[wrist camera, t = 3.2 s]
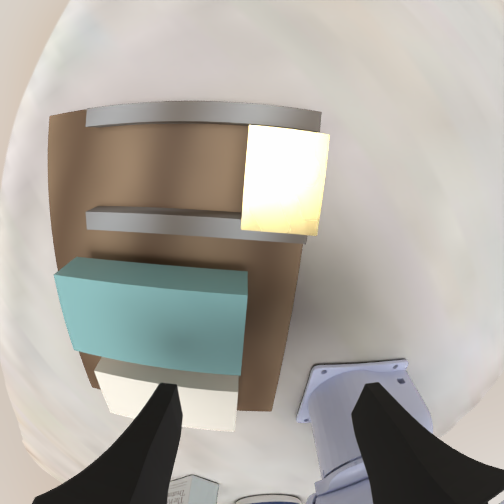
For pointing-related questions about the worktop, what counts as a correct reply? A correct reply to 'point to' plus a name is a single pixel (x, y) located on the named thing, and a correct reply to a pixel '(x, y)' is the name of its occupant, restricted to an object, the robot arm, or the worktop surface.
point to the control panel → (177, 208)
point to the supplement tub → (269, 500)
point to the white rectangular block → (189, 388)
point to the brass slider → (284, 180)
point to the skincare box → (192, 491)
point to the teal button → (156, 313)
